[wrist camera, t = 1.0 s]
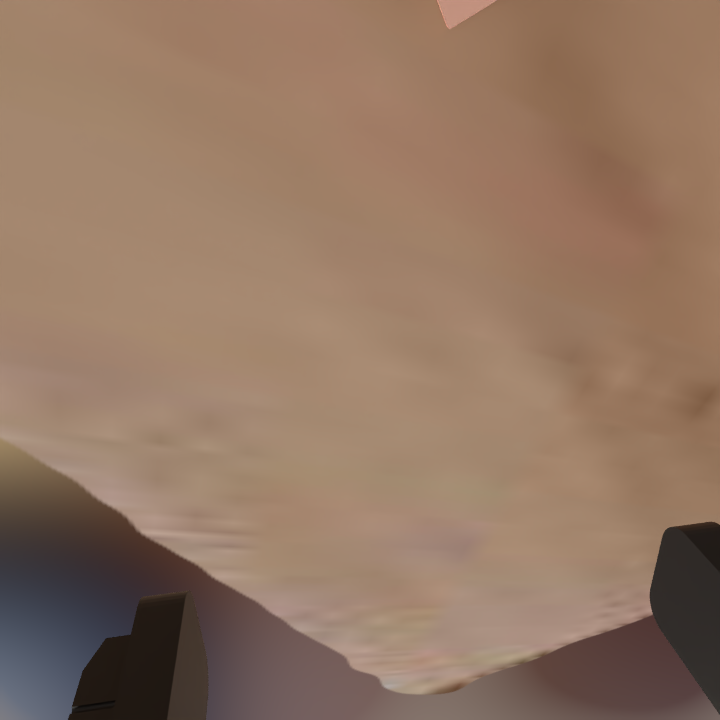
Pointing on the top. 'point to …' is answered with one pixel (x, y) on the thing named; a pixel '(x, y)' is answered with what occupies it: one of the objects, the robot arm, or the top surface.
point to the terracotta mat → (460, 9)
